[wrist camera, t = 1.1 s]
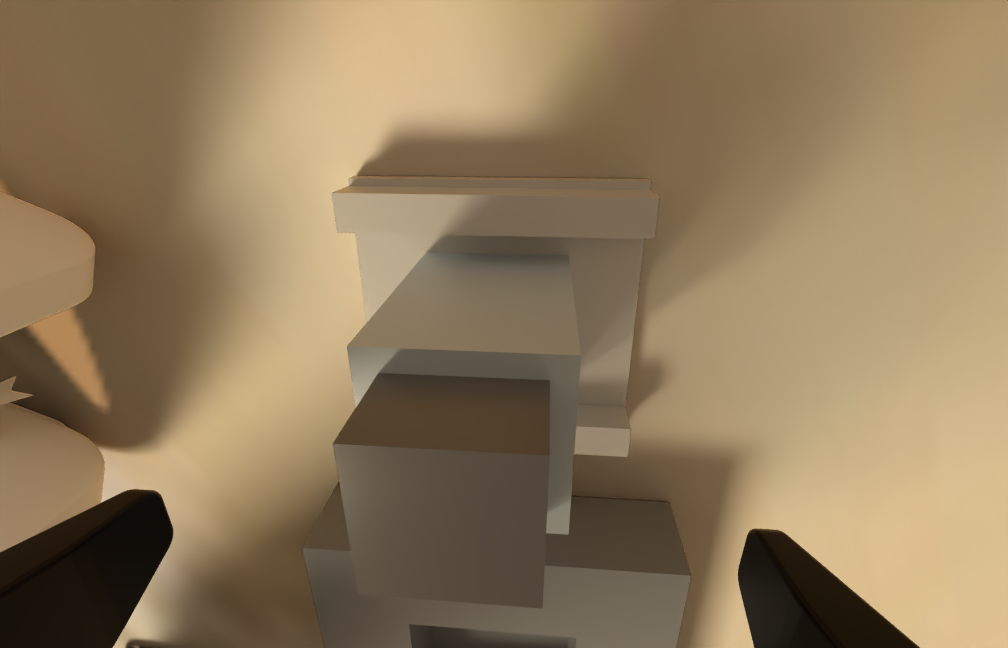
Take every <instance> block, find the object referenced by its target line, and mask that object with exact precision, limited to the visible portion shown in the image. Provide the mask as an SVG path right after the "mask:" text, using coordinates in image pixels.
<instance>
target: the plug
mask: <svg viewBox="0 0 1008 648" xmlns="http://www.w3.org/2000/svg"><path fill="white" fill-rule="evenodd" d="M347 350H348V357H349V364H350V371H351V378H352V385H353V392H354V399H355V406H356V408H355V410H354V412H353V413H352V415H351V416H350V418H349V419H348V421H347V422H346V424H345V426H344V427H343V429H342V430H341V432H340V433H339V435H338V436H337V438H336V440H335V441H334V443H333V448H334V454H335V460H336V466H337V472H338V478H339V483H340V489H341V495H342V501H343V507H344V513H345V519H346V524H347V530H348V536H349V542H350V548H351V554H352V560H353V565H354V571H355V577H356V583H357V589H358V594H362V595H375V596H388V597H401V598H413V599H426V600H439V601H452V602H464V603H477V604H490V605H502V606H515V607H528V608H541V609H543V592H544V570H545V548H546V533H551V534H566V535H569V522H570V508H571V494H572V479H573V465H574V451H575V437H576V422H577V408H578V394H579V380H580V365H581V350H580V342H579V333H578V325H577V317H576V309H575V301H574V293H573V285H572V277H571V269H570V261H569V255H526V254H483V253H439V252H426V253H425V254H424V256H423V257H422V258H421V259H420V260H419V261H418V263H417V264H416V265H415V266H414V267H413V269H412V270H411V271H410V272H409V273H408V275H407V276H406V277H405V278H404V279H403V280H402V282H401V283H400V284H399V285H398V286H397V288H396V289H395V290H394V291H393V292H392V293H391V295H390V296H389V297H388V298H387V299H386V301H385V302H384V303H383V304H382V305H381V307H380V308H379V309H378V310H377V311H376V312H375V314H374V315H373V316H372V317H371V318H370V320H369V321H368V322H367V323H366V324H365V326H364V327H363V328H362V329H361V330H360V331H359V333H358V334H357V335H356V336H355V337H354V339H353V340H352V341H351V342H350V343H349V344H348V346H347Z"/></svg>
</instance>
